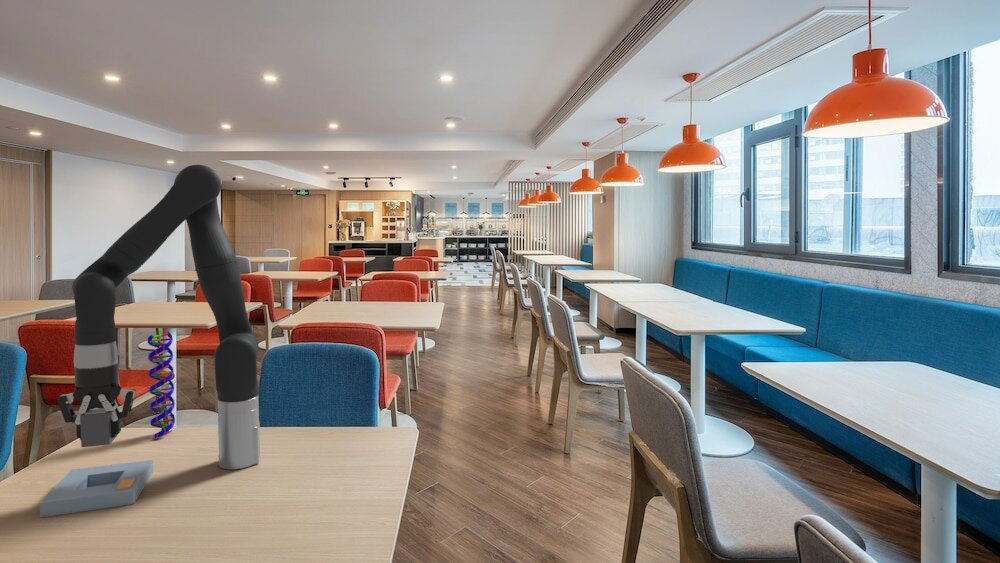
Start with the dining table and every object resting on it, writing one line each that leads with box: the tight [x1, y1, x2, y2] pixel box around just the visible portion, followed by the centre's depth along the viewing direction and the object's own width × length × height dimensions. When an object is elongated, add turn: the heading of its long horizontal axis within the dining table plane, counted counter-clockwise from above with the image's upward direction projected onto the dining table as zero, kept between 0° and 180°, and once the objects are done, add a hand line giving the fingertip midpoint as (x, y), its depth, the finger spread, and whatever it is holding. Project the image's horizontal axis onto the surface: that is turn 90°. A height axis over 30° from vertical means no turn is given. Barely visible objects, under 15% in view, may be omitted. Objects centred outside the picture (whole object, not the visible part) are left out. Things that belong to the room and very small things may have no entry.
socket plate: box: [38, 459, 154, 518], centre depth 113 cm, size 16×16×3 cm
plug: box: [80, 408, 118, 448], centre depth 112 cm, size 5×5×7 cm
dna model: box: [147, 331, 176, 440], centre depth 144 cm, size 6×6×30 cm
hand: (99, 437), depth 112 cm, fingers closed on plug, 5 cm apart
